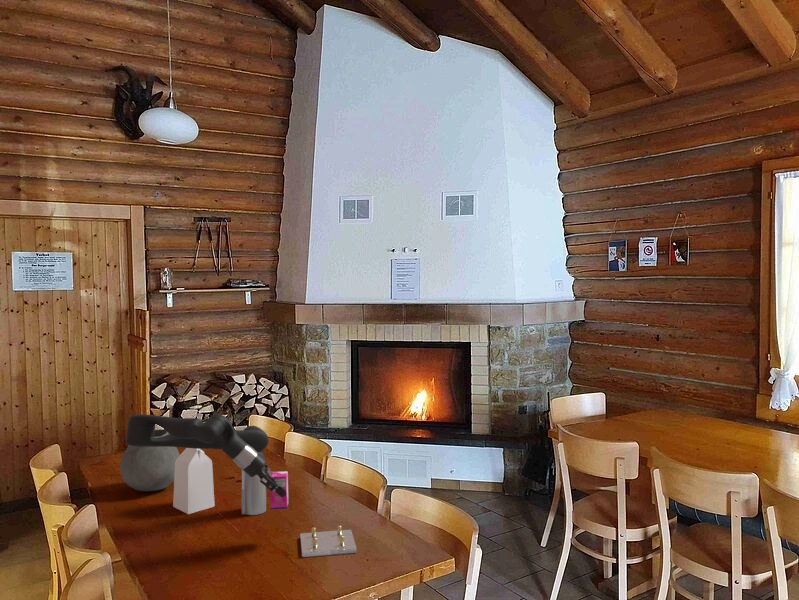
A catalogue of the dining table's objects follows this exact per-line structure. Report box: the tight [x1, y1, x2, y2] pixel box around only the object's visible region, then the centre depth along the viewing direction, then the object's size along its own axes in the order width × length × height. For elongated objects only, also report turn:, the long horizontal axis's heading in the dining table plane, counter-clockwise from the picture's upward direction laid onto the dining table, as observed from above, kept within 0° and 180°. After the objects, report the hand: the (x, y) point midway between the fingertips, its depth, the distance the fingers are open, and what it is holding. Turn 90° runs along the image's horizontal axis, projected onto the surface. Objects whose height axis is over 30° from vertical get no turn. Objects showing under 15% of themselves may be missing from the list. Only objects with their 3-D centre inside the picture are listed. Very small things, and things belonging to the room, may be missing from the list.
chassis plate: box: [299, 524, 358, 558], centre depth 213 cm, size 18×16×4 cm
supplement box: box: [269, 470, 289, 510], centre depth 217 cm, size 6×6×12 cm
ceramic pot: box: [119, 428, 181, 492], centre depth 270 cm, size 24×24×25 cm
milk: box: [172, 448, 216, 515], centre depth 250 cm, size 12×12×26 cm
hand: (284, 492), depth 217 cm, fingers closed on supplement box, 6 cm apart
